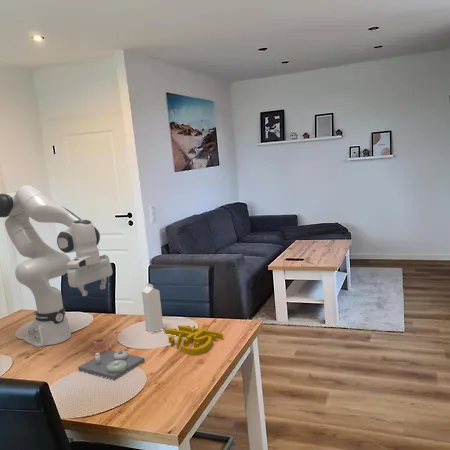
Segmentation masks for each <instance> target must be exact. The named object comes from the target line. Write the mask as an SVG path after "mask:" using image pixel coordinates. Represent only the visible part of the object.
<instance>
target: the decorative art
mask: <svg viewBox="0 0 450 450" xmlns="http://www.w3.org/2000/svg"><path fill="white" fill-rule="evenodd" d="M178 329H179V330H178ZM163 331H164V332H163V333H164V334H165V333H166V334H171V335H176V336H171V335H167V336H168V343H169V344H170V347H171V348H173V346H175V345H176V349H177V350H179V349H180V352H181V353H183V354H186V355H188V356H201V355H204V354H205V353H207V352H208V351H210V350H211V348H212V346H213V342H217V340H222V341H224V335H223V333H221V332H219V331H214V330H210V329H208V328H207V327H205V326H204V327H202V328H197V327H196V324H194V325H193V326H192V327H191V326H190V325H177V328H174V327H173V328H171V327H170V328H168V327H166V328H165V327H163ZM166 334H165V335H166ZM177 336H178V337H177ZM175 337H176V341H175ZM183 337H186V338H183ZM181 339H182V340H181ZM182 341H183V345H182V344H181V342H182ZM192 342H193V347H188V346H189V344H191V343H192ZM179 347H180V348H179Z"/></svg>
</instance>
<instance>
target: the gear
mask: <svg viewBox="0 0 450 450" xmlns="http://www.w3.org/2000/svg"><path fill="white" fill-rule="evenodd" d="M111 347H112V346H111V345H110V344H107V339H106V338H97V339H95V340H94V341H93V347H92V348H91V349H90V354H92V356H95V354H96V353H99V354H100V355H101V354H103V353H105V352H107V351H109V350H112V348H111Z"/></svg>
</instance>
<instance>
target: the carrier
mask: <svg viewBox="0 0 450 450" xmlns="http://www.w3.org/2000/svg"><path fill="white" fill-rule="evenodd" d="M145 360H146V359H145V357H142V356H138V355H134V354H129V353H128V351H126V350H118V351H117V350H112V349H111V350H109V351H107V352H105V353H103V354H101V355H100V354H99V353H96V354H95V355H94V358H92V359H90V360H89V361H86V362H85V363H83V364H81V365H79V366H77V368H78V371H79V372H82V371H84V372H83V373H86V372H88V373H87V374H90V373H92V374H91V375H93V374H96V375H95V376H97V375H99V376H98V377H100V376H103V377H102V378H104V377H107V378H106V379H108V378H110V379H109V380H111V379H113V380H112V381H115V379H116V380H117V379H119V378H120V377H122V376H124V375H125V374H127V373H128V372H127V371H129V370H130V371H132V370H134V369H135V368H137V367H138V366H140V365H142V364H143V363H145V362H146V361H145ZM131 369H132V370H131ZM130 371H129V372H130ZM126 372H127V373H126ZM124 373H125V374H124ZM123 374H124V375H123ZM121 375H122V376H121ZM118 377H119V378H118Z"/></svg>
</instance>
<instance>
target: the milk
mask: <svg viewBox="0 0 450 450" xmlns="http://www.w3.org/2000/svg"><path fill="white" fill-rule="evenodd" d="M160 293H161V292H160V290H159V289H157V288H155V287H154V285H153V284H151V283H149V282H147V283H146V287H145V288H143V289H142V291H141V294H142V295H141V297H142V305H143V312H144V313H143V315H144V323H145V330H146V329H147V330H148V331H150V332H155V331H157V330H160V329H163V330H164V323H163V314H162V313H163V312H162V304H161V294H160ZM147 330H146V331H147ZM148 331H147V332H148ZM150 332H149V333H150ZM155 333H156V332H155Z"/></svg>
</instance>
